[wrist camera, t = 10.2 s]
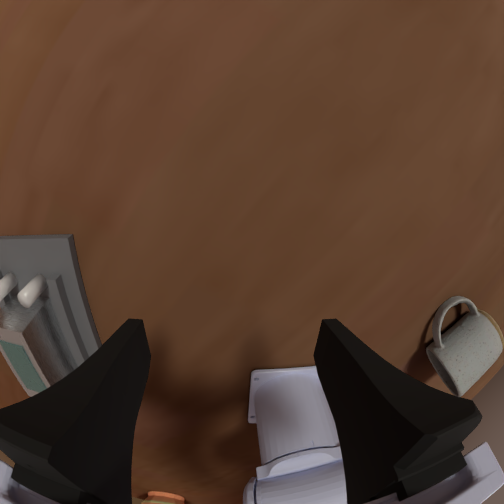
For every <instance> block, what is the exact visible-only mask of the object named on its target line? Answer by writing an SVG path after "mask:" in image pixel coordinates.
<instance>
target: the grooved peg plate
mask: <svg viewBox="0 0 504 504" xmlns="http://www.w3.org/2000/svg"><path fill="white" fill-rule="evenodd" d="M14 294H18V300H19V302H20V304H21V305H22V306H24V307H25V308H29V307H30V306H31V305H32V304H33V302H34V301H35V300H36V299H37V298H38V297H39V296H40V297H49V298H50V300H51V303H52V306H53V309H54V311H55V314H56V317H57V319H58V322H59V325H60V327H61V330H62V332H63V334H64V337H65V339H66V342H67V344H68V346H69V348H70V351H71V353H72V355H73V357H74V359H75V362H76V364H77V366H78V367H79V366H80V365H81V364H82V363H83V362H84V361H86V360H87V359H88V358H89V357H90V356H91V355H92V354H93V353H94V352H96V351H97V350H98V349H99V348H100V347H101V346H102V344H101V341H100V338H99V336H98V333H97V330H96V326H95V323H94V320H93V317H92V314H91V310H90V307H89V304H88V300H87V296H86V293H85V289H84V285H83V281H82V277H81V273H80V268H79V264H78V259H77V254H76V249H75V244H74V239H73V234H63V235H22V236H0V307H1V308H2V307H3V306H4V305H5V304H6V303H7V301H8V300H9V299H10V298H11V297H12V296H13V295H14Z"/></svg>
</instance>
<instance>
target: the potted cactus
mask: <svg viewBox="0 0 504 504" xmlns="http://www.w3.org/2000/svg"><path fill="white" fill-rule="evenodd" d="M184 500H185V499H184V498H183V497H182V496H178V495H175V494H171V493H166V492H157V491H151V492H148V497H147V498H146V499H145V500H144V501H143V502H142V503H141V504H185V503H184Z"/></svg>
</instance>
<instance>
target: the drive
mask: <svg viewBox="0 0 504 504" xmlns="http://www.w3.org/2000/svg"><path fill="white" fill-rule="evenodd" d="M0 351H1V352H2V354H3V356H4V358H5V360H6V361H7V363H8V365H9V366H10V368H11V370H12V371H13V373H14V374H15V376H16V378H17V379H18V381H19V382H20V384H21V385H22V387H23V388H24V390H25V391H26V393H27V394H28V395H29V396H31V397H32V396H34V395H36V394H38V393H40V392H42V391H43V390H45V389H47V388H48V387H50V386H52V385H53V384H55V383H56V382H58V381H60V380H61V379H63V378H64V377H65V376H67V375H68V374H70V373H71V372H72V371H74V370H75V369H76V368H77V367H78V366H77V364H76V362H75V359H74V357H73V355H72V353H71V351H70V348H69V346H68V344H67V342H66V339H65V337H64V334H63V332H62V330H61V327H60V325H59V322H58V319H57V317H56V314H55V311H54V309H53V306H52V303H51V300H50V298H49V297H40V296H39V297H38V298H37V299H36V300H35V301H34V302H33V304H32V305H31V306H30V307H29V308H25V307H24V306H22V305H21V304H20V302H19V300H18V294H14V295H13V296H12V297H11V298H10V299H9V300H8V301H7V303H6V304H5V305H4V306H3V307H2V308H1V309H0Z"/></svg>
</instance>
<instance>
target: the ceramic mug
mask: <svg viewBox="0 0 504 504" xmlns="http://www.w3.org/2000/svg"><path fill="white" fill-rule="evenodd" d="M464 302H465V304H467V306H468V308H469V310H470V312H469V313H467V314H466V315H464V316H463V317H462V318H461V319H460V320H459V321H458V322H457V323H456V324H455V325H454V326H452V327H451V328H450V329H449V330H447V331H446V332H445V333H444V334H442V335H441V325H442V321H443V319H444V316H445V314H446V312H447V311H448V310H449V308H451V307H452V306H454V305H457V304H458V303H464ZM432 331H433V338H434V342H432V343H431V344H430V345H429V346H428V347H427V348H426V351H427V355H428V357H429V359H430V362H431V363H432V365H433V367H434V369H435V370H436V372H437V373H438V375H439V376H440V378H441V379H442V381H443V382H444V383H445V385H446V386H447V387H448V388H449V390H450V391H451V392H452V393H453V394H454V395H455V396H457V397H461V396H462V395H463V394H464V393H465V392H466V391H467V390H468V389H469V388H470V387H471V386H472V385H473V384H474V383H475V382H476V381H477V380H478V379H479V378H480V377H481V376H482V375H483V374H484V373H485V372H486V371H487V370H488V369H489V368H490V367H491V365H492V364H493V363H494V362H495V361H496V360H497V358H498V357H499V355H500V354H501V352H502V350H503V348H504V338H503V334H502V332H501V330H500V328H499V326H498V324H497V323H496V322H495V320H494V319H493V318H492V317H491V316H490V315H489V314H488V313H486V312H485V311H483V310H480V309H477V308H476V306H475V305H474V303H473V302H471V301H470V300H469V299H467V298H465V297H462V296H455V297H452V298H449V299H448V300H447V301H445V302H444V303H443V304H442V305H441V306H440V307H439V309H438V310H437V312H436V314H435V316H434V319H433V324H432Z"/></svg>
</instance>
